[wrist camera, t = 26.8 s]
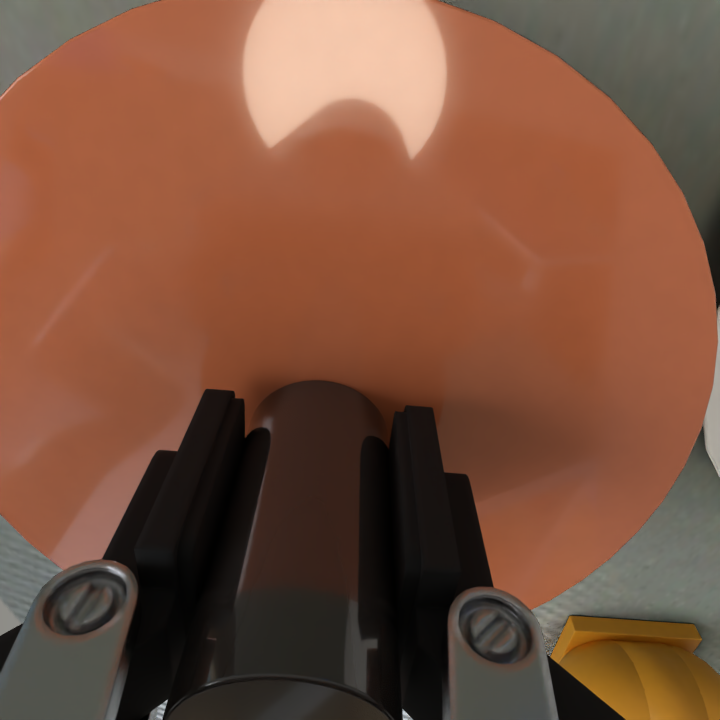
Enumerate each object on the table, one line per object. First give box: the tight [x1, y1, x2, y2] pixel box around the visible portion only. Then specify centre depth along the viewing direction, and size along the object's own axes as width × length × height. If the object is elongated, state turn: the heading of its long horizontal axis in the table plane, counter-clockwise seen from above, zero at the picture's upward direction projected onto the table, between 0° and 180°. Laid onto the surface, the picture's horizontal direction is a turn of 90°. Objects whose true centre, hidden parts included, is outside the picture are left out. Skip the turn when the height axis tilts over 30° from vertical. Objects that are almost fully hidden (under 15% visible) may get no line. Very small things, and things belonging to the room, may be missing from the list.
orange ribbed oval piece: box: [550, 616, 720, 720], centre depth 24 cm, size 8×6×6 cm
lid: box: [0, 0, 718, 720], centre depth 10 cm, size 16×16×7 cm
